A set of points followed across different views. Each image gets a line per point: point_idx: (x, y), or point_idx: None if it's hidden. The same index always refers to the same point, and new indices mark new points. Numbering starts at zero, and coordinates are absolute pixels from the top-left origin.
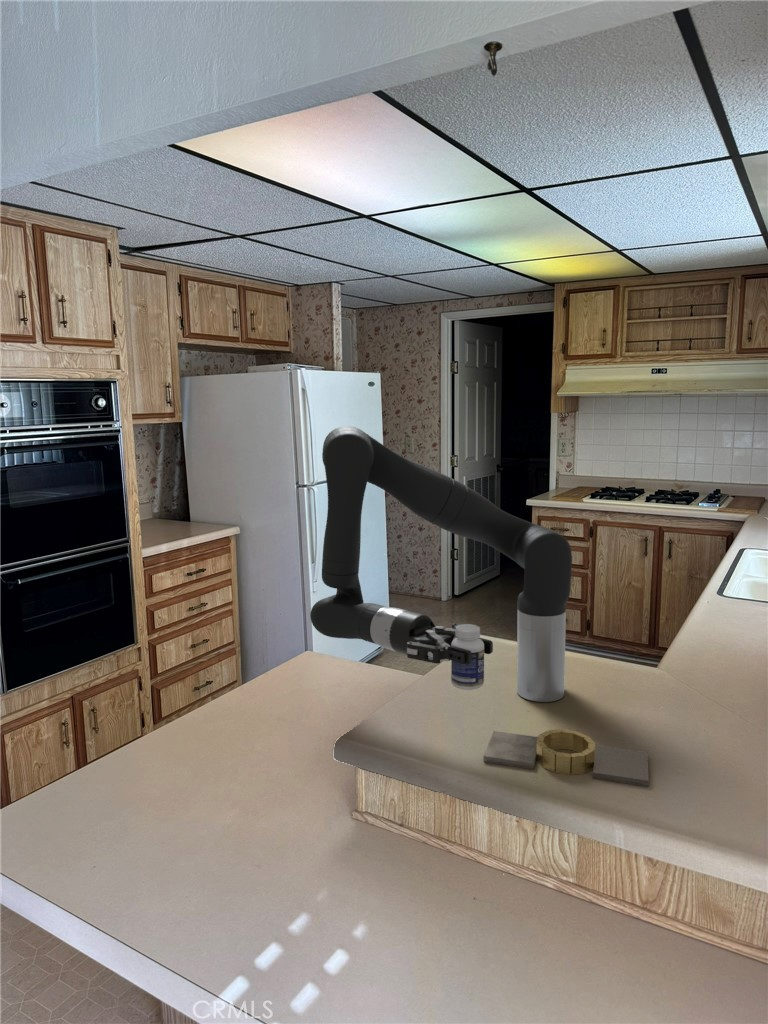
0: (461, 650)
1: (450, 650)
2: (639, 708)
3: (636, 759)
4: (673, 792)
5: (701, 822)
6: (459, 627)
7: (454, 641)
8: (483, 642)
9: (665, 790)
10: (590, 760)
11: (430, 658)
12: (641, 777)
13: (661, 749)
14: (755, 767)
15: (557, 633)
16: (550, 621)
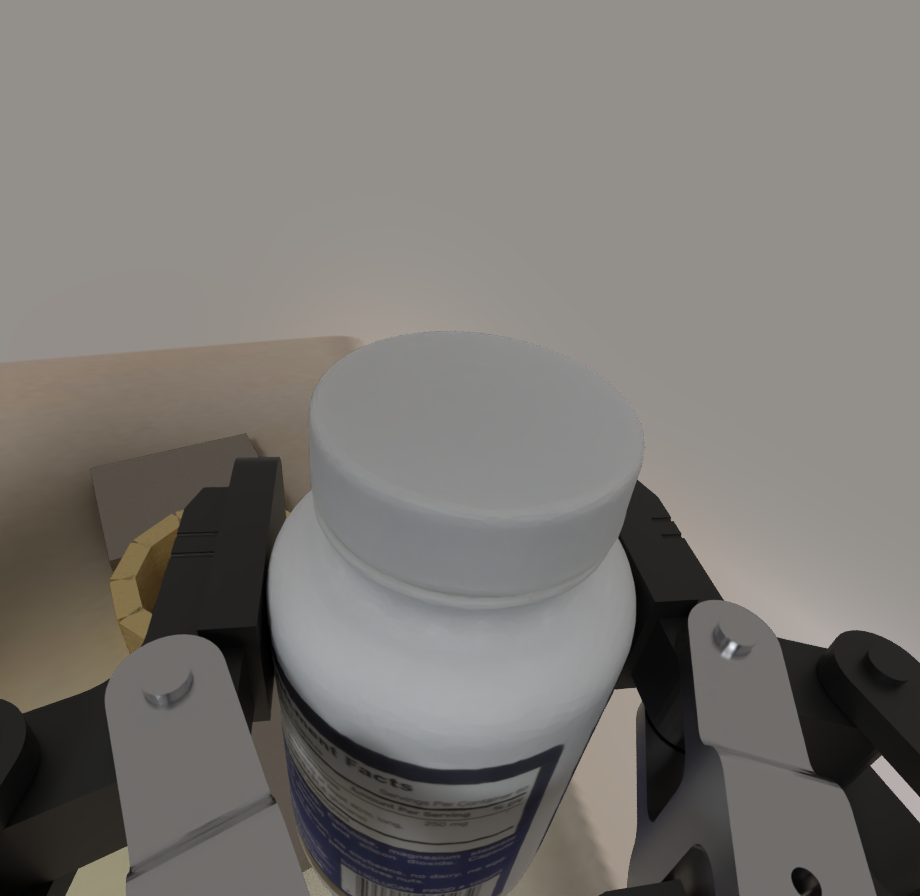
0: (637, 497)
1: (701, 600)
2: None
3: (151, 471)
4: (239, 417)
5: (313, 378)
6: (567, 461)
7: (606, 613)
8: (272, 518)
9: (240, 426)
10: None
11: (880, 814)
12: (240, 443)
13: (20, 475)
14: (40, 363)
15: None
16: None
